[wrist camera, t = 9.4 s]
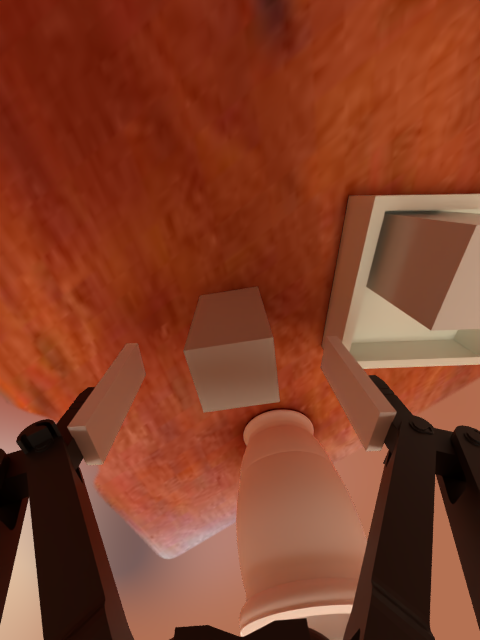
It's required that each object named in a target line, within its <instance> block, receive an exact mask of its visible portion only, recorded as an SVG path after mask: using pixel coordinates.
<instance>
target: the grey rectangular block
mask: <svg viewBox="0 0 480 640" xmlns="http://www.w3.org/2000/svg"><path fill="white" fill-rule="evenodd" d="M183 351H184V354H185V357H186V360H187V363H188V366H189V369H190V372H191V375H192V378H193V381H194V384H195V387H196V390H197V393H198V396H199V399H200V402H201V405H202V408H203V411H204V412H211V411H218V410H225V409H232V408H239V407H246V406H254V405H261V404H268V403H275V402H280V398H279V388H278V379H277V369H276V359H275V350H274V340H273V335H272V332H271V328H270V325H269V322H268V318H267V315H266V312H265V308H264V305H263V302H262V299H261V295H260V292H259V289H258V286H257V287H251V288H244V289H238V290H232V291H226V292H219V293H213V294H207V295H201V296H200V297H199V300H198V303H197V307H196V310H195V313H194V317H193V320H192V324H191V327H190V330H189V334H188V337H187V340H186V344H185V347H184V350H183Z"/></svg>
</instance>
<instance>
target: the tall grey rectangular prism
mask: <svg viewBox="0 0 480 640" xmlns="http://www.w3.org/2000/svg"><path fill="white" fill-rule="evenodd" d="M366 287H367V288H369V289H370V290H372V291H373V292H375V293H376V294H378V295H379V296H381V297H382V298H384V299H385V300H386V301H388V302H389V303H391V304H392V305H394V306H395V307H397V308H398V309H400V310H401V311H403V312H404V313H406V314H407V315H409V316H410V317H412V318H413V319H415V320H416V321H418V322H419V323H420V324H422V325H423V326H425V327H426V328H428V329H429V330H431V331H435V330H465V329H480V214H477V213H464V212H451V211H397V212H385V214H384V218H383V222H382V226H381V230H380V234H379V238H378V241H377V245H376V249H375V253H374V257H373V261H372V265H371V269H370V273H369V277H368V281H367V285H366Z"/></svg>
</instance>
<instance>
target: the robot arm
mask: <svg viewBox="0 0 480 640" xmlns="http://www.w3.org/2000/svg"><path fill="white" fill-rule="evenodd" d="M321 369H322V371H323V373H324V375H325V377H326V378H327V380H328V382H329V384H330V386H331V388H332V389H333V391H334V393H335V395H336V397H337V399H338V400H339V402H340V404H341V406H342V408H343V410H344V411H345V413H346V415H347V417H348V419H349V421H350V422H351V424H352V426H353V428H354V430H355V432H356V433H357V435H358V437H359V439H360V441H361V443H362V445H363V446H364V448H365V450H366V451H377V450H378V451H379V450H381V449H382V447H383V444H384V443H385V444H386V446H387V448H388V449H389V451H388V453H387V456H386V458H385V460H384V462H383V463H384V464H385V466H384V471H383V475H382V479H381V483H380V488H379V492H378V497H377V501H376V506H375V510H374V514H373V519H372V523H371V528H370V532H369V537H368V541H367V545H366V550H365V554H364V558H363V563H362V567H361V572H360V576H359V580H358V585H357V589H356V594H355V598H354V602H353V607H352V611H351V614H350V617H349V620H348V623H347V626H346V630H345V633H344V637H343V640H435V638H434V636H433V634H432V633H431V630H430V595H431V594H430V593H431V567H432V543H433V517H434V516H433V515H434V491H435V490H434V489H435V474H436V476H437V480H438V483H439V487H440V490H441V494H442V498H443V501H444V505H445V508H446V512H447V516H448V519H449V522H450V526H451V530H452V533H453V537H454V540H455V544H456V548H457V551H458V555H459V558H460V562H461V565H462V569H463V572H464V576H465V580H466V583H467V587H468V590H469V594H470V597H471V600H472V604H473V608H474V612H475V615H476V619H477V622H478V626H479V629H480V431H478V430H477V429H474V428H471V427H469V426H458V427H456V429H455V430H454V432H450V431H446V430H441V429H436V428H434V427H433V426H432V425H431V424H430V423H429V422H427V421H426V420H424V419H422V418H420V417H417V416H414V415H412V414H411V412H410V411H409V410H408V409H407V408H406V407H405V405H404V404H403V403H402V402H401V401H400V400H399V398H398V397H397V396H396V395H394V392H393V391H392V390H391V389H390V388H389V387H388V385H387V384H386V383H385V382H384V381H383V380H381V379H380V378H379V377H377V376H376V375H370V376H368V375H367V374H366V372H365V371H364V370H363V369H362V367H361V366H360V365H359V364H358V362H357V361H356V360H355V358H354V357H353V356H352V355H351V353H350V352H349V351H348V350H347V348H346V347H345V346H344V345H343V343H342V342H341V341H340V339H339V338H338V337H337V336H327V337H326V340H325V346H324V351H323V357H322V363H321ZM145 375H146V373H145V369H144V365H143V362H142V358H141V354H140V350H139V346H138V343H128V344H126V345H125V346H124V348H123V349H122V351H121V352H120V353H119V355H118V356H117V358H116V359H115V360H114V362H113V363H112V365H111V366H110V367H109V369H108V370H107V372H106V373H105V374H104V376H103V377H102V379H101V380H100V381H99V383H98V384H97V386H96V387H88V388H87V389H86V390H84V391H83V392H82V393H80V394H79V396H78V397H77V398H76V400H75V401H74V403H72V405H71V406H70V407H69V410H67V411H66V413H65V414H64V415H63V416H62V418H61V419H60V420H59V422H58V423H57V424H55V422H54V421H53V420H49V419H46V420H41V421H38V422H35V423H33V424H32V425H30V426H28V427H27V428H25V429H24V430H23V431H22V432H21V433H20V434H19V436H18V437H17V441H16V442H17V444H18V445H19V447H20V448H21V450H19V451H16V452H13V453H10V454H6V453H5V452H4V451H3V450H2V449H0V623H1V619H2V614H3V610H4V605H5V601H6V596H7V592H8V587H9V583H10V579H11V574H12V570H13V565H14V561H15V556H16V552H17V547H18V543H19V539H20V534H21V530H22V525H23V521H24V516H25V511H26V507H27V503H28V499H30V508H31V518H32V529H33V539H34V549H35V558H36V568H37V578H38V588H39V597H40V607H41V616H42V627H43V637H44V640H134V638H133V636H132V634H131V631H130V629H129V626H128V623H127V620H126V617H125V614H124V610H123V608H122V604H121V600H120V597H119V594H118V591H117V587H116V584H115V581H114V578H113V574H112V571H111V568H110V564H109V561H108V558H107V555H106V551H105V548H104V545H103V541H102V538H101V535H100V532H99V528H98V525H97V522H96V519H95V515H94V512H93V509H92V506H91V502H90V499H89V496H88V492H87V489H86V486H85V483H84V479H83V476H82V473H81V470H80V468H79V464H80V463H81V461H82V459H83V458H84V460H85V462H86V464H87V465H101V464H103V463H104V461H105V459H106V457H107V455H108V453H109V451H110V449H111V446H112V444H113V442H114V440H115V438H116V436H117V434H118V432H119V430H120V428H121V425H122V423H123V421H124V419H125V417H126V415H127V413H128V411H129V409H130V407H131V404H132V402H133V400H134V398H135V396H136V394H137V392H138V390H139V388H140V386H141V383H142V381H143V379H144V377H145ZM170 640H329V639H328V638H327V637H325V636H324V635H323V634H321V633H319V632H318V631H316V630H314V629H311V628H309V627H308V623H307V618H301V619H287V620H275V621H273V622H271V623H269V624H267V625H265V626H263V627H261V628H259V629H257V630H256V631H254V632H252V633H250V634H248V635H246V636H244V637H239V636H236V635H233V634H230V633H228V632H225V631H222V630H220V629H217V628H214V627H211V626H209V625H205V626H204V625H203V626H189V627H176V628H175V635H174V637H173V638H172V639H170Z"/></svg>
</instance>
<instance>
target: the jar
mask: <svg viewBox="0 0 480 640" xmlns="http://www.w3.org/2000/svg"><path fill="white" fill-rule="evenodd" d="M313 435H314V428H313V424H312V422H311V421H310V420H309V418H307V417H306V416H305V415H303V414H301V413H299V412H296V411H292V410H284V409H282V410H272V411H268V412H265V413H262V414H260V415H258V416H256V417H255V418H253V419H252V420H251V421H250V422H249V423H248V424H247V426H246V427H245V430H244V434H243V438H244V442H245V444H246V446H247V447H246V450H245V453H244V456H243V460H242V465H241V472H240V485H239V491H238V500H237V517H236V525H237V543H238V553H239V562H240V569H241V575H242V580H243V584H244V588H245V592H246V603H245V605H244V606H243V608H242V610H241V613H240V617H239V626H240V630H241V633H240V635H241V637H244V636H246V635H248V634H250V633H252V632H254V631H256V630H257V629H259V628H261V627H263V626H265V625H267V624H269V623H271V622H273V621H275V620H287V619H301V618H307V623H308V627H309V628H311V629H314V630H316V631H318V632H319V633H321V634H323V635H324V636H325V637H327V638H328V639H329V640H343V637H344V633H345V630H346V626H347V623H348V620H349V617H350V614H351V611H352V607H353V602H354V598H355V594H356V589H357V585H358V580H359V576H360V572H361V567H362V563H363V558H364V554H365V550H366V545H367V540H366V536H365V533H364V530H363V527H362V524H361V521H360V518H359V515H358V513H357V510H356V508H355V505H354V503H353V501H352V499H351V496H350V494H349V492H348V490H347V488H346V486H345V484H344V483H343V481H342V479H341V477H340V475H339V474H338V472H337V470H336V469H335V467H334V465H333V463H332V461H331V459H330V457H329V455H328V454H327V452H326V451H325V449H324V448H323V446H322V445H321V444H320V442H319V441H318V440H317V439H316V438H315V437H314V436H313Z"/></svg>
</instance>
